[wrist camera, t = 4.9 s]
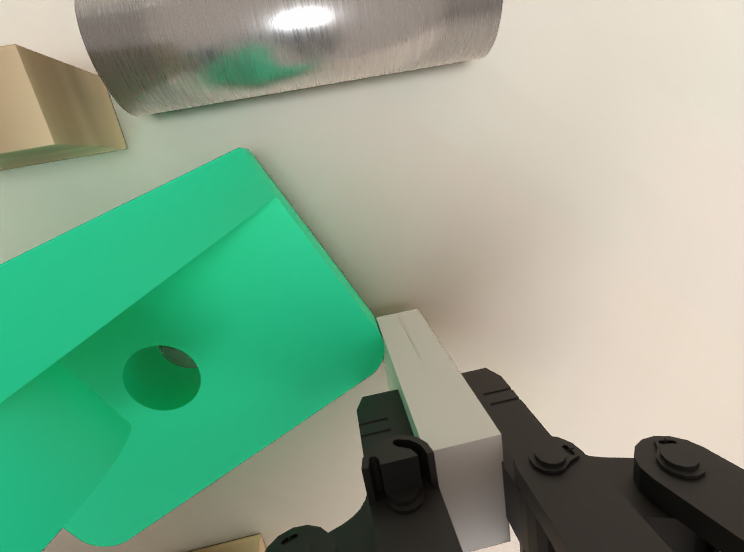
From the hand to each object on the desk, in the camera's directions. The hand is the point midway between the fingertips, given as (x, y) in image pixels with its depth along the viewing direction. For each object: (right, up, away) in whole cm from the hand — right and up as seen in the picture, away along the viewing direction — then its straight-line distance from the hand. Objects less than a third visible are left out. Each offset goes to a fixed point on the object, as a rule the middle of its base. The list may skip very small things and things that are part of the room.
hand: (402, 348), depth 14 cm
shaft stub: (-3, +11, -2) cm, 11 cm away
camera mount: (-8, 0, +1) cm, 8 cm away
